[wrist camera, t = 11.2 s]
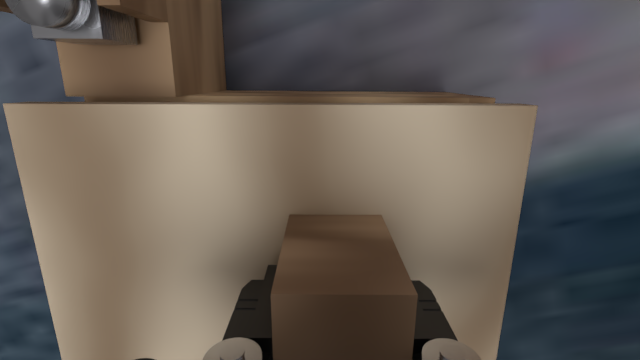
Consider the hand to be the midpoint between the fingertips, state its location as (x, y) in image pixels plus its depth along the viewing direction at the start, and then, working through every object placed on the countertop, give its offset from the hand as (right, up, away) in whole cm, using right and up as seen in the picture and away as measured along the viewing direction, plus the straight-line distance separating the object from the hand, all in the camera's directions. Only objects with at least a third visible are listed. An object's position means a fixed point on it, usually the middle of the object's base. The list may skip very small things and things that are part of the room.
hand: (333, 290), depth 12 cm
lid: (-2, +1, +2) cm, 3 cm away
